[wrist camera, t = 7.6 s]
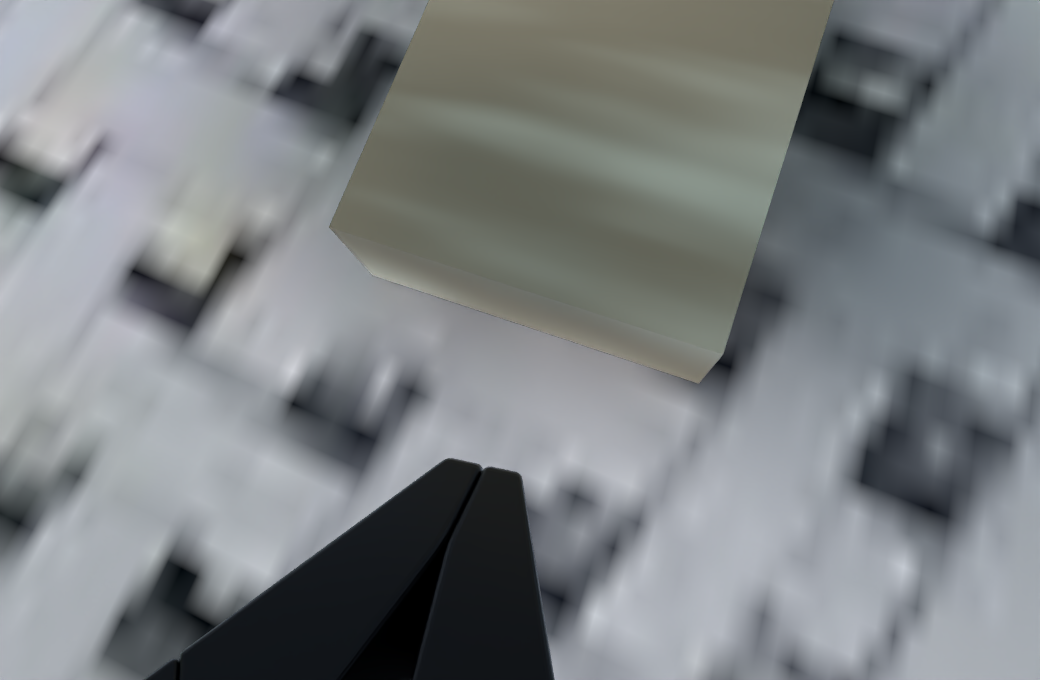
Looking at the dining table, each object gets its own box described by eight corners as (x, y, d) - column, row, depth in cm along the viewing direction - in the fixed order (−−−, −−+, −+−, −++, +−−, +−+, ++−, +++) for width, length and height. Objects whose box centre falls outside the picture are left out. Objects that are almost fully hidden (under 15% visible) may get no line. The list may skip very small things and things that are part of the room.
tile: (722, 354, 13) (919, -274, 16) (329, 226, 14) (575, -333, 17) (695, 386, 16) (862, -140, 19) (376, 280, 18) (578, -198, 21)
